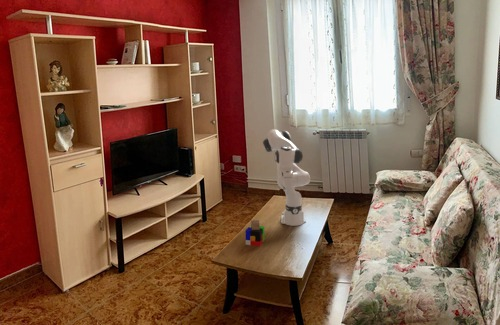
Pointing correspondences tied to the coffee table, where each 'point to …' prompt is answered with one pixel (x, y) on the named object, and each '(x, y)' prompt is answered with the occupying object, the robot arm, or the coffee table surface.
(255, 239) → the puzzle toy
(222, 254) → the coffee table surface
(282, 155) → the robot arm
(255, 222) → the walnut block
